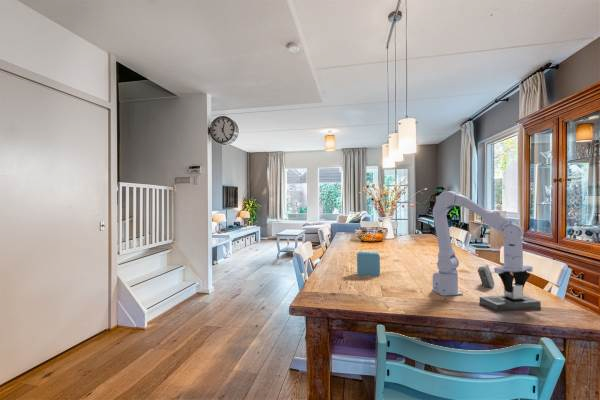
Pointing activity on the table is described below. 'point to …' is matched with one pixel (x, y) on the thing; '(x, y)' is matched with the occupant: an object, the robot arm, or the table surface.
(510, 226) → the robot arm
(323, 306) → the table surface
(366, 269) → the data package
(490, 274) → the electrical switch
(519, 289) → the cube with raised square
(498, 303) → the dark grey flat block
